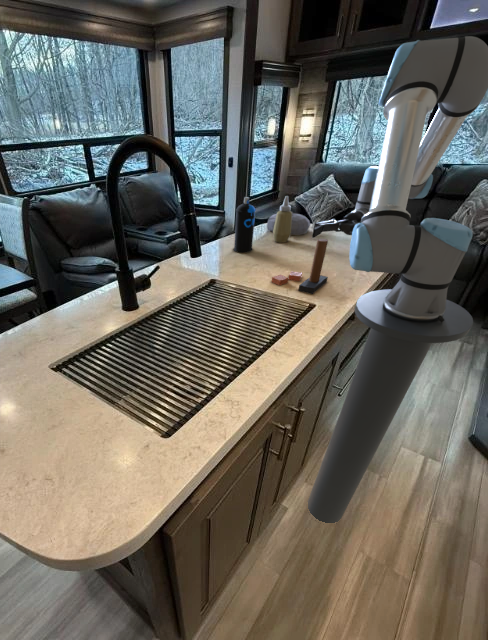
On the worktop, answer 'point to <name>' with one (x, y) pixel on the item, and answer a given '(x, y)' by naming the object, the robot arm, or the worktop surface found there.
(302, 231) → the grey oval stone
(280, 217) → the squeeze bottle
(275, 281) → the red square block
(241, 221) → the aerosol can
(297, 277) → the pink square block
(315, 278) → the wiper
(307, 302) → the worktop surface
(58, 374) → the worktop surface
